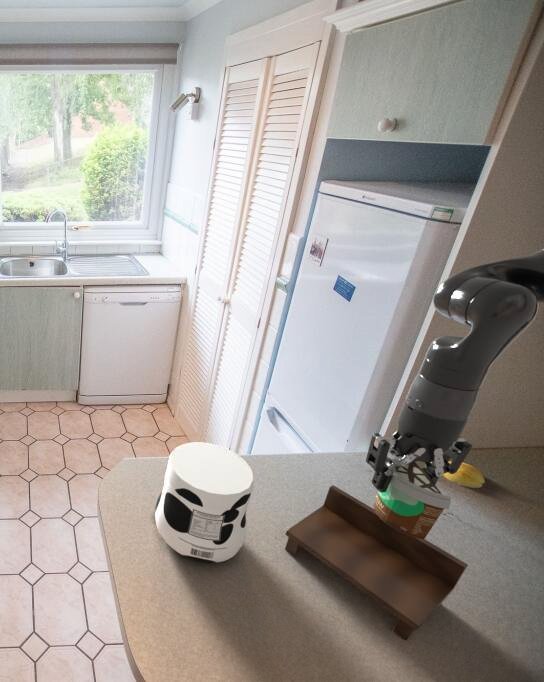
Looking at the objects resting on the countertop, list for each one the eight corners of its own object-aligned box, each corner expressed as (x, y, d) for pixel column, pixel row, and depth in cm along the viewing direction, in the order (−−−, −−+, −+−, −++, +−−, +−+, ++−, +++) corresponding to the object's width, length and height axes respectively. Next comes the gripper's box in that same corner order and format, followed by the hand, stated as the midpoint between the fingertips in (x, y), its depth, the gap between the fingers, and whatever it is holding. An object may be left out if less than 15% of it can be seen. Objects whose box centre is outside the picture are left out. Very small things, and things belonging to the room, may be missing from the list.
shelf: (445, 604, 80) (468, 564, 76) (408, 645, 73) (430, 605, 69) (319, 520, 97) (332, 484, 93) (280, 548, 90) (292, 511, 86)
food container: (353, 487, 84) (369, 443, 80) (390, 492, 83) (409, 448, 79) (385, 540, 73) (407, 493, 69) (429, 546, 72) (453, 499, 68)
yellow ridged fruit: (430, 478, 109) (436, 465, 107) (444, 465, 113) (450, 452, 112) (474, 499, 103) (481, 486, 101) (487, 484, 107) (494, 471, 105)
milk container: (199, 495, 104) (213, 430, 96) (260, 554, 89) (282, 483, 82) (136, 517, 98) (145, 450, 90) (190, 584, 83) (206, 511, 76)
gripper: (465, 392, 72) (426, 475, 79) (373, 391, 72) (342, 473, 79) (509, 419, 65) (462, 507, 72) (407, 417, 65) (370, 505, 72)
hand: (400, 489), depth 75 cm, fingers closed on food container, 6 cm apart
